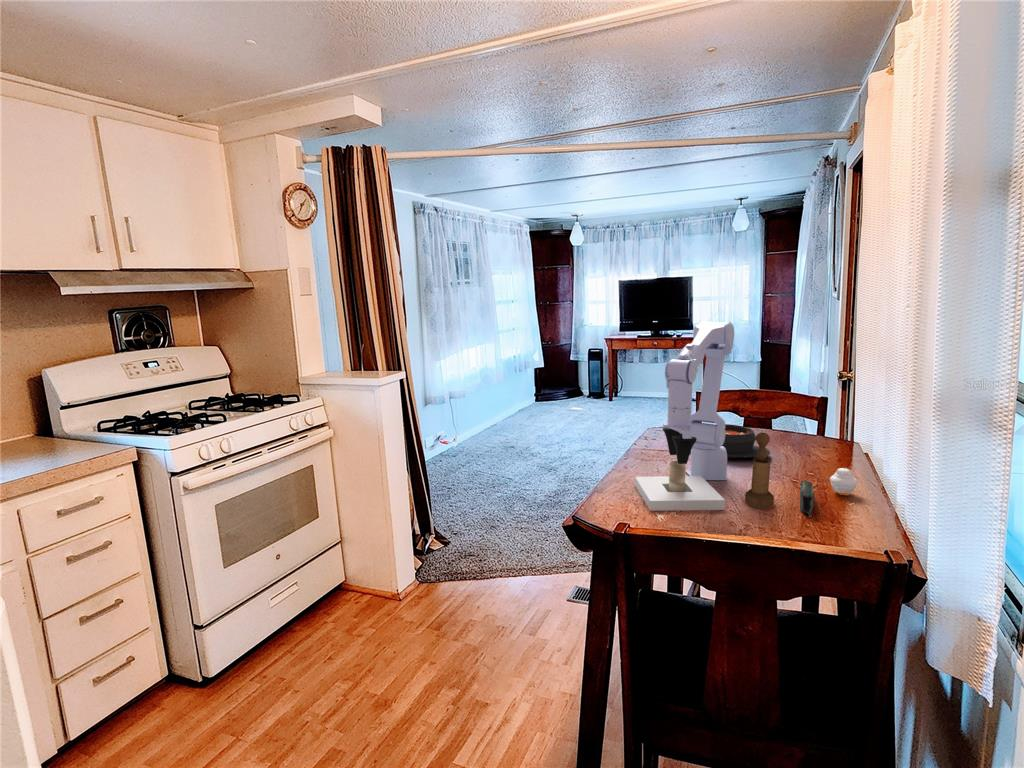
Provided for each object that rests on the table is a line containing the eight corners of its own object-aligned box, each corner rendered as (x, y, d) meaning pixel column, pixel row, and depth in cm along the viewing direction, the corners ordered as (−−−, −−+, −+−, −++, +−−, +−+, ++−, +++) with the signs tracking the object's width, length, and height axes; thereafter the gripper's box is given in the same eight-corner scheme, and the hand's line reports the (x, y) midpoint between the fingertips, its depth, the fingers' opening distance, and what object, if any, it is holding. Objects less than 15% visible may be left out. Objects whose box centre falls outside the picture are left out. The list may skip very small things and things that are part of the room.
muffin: (842, 499, 140) (844, 472, 139) (823, 491, 146) (825, 465, 145) (862, 496, 142) (864, 470, 141) (842, 488, 148) (844, 463, 147)
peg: (682, 494, 146) (683, 461, 144) (686, 499, 142) (687, 465, 140) (666, 494, 146) (667, 461, 144) (670, 499, 142) (671, 465, 140)
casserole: (772, 451, 183) (773, 426, 181) (767, 467, 167) (768, 440, 165) (693, 443, 195) (694, 419, 194) (682, 456, 179) (682, 431, 178)
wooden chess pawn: (771, 510, 134) (775, 437, 131) (742, 505, 137) (746, 434, 135) (775, 501, 140) (779, 431, 137) (747, 496, 143) (751, 428, 140)
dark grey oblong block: (799, 478, 143) (801, 496, 129) (812, 479, 142) (816, 497, 128) (798, 497, 144) (800, 516, 130) (811, 498, 142) (814, 518, 129)
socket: (700, 484, 152) (700, 475, 152) (724, 509, 135) (724, 500, 134) (634, 485, 153) (635, 476, 152) (649, 510, 135) (650, 500, 135)
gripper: (656, 401, 147) (655, 451, 149) (671, 413, 133) (669, 468, 135) (683, 401, 147) (681, 450, 149) (701, 412, 133) (699, 467, 135)
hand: (678, 459), depth 142 cm, fingers open, 7 cm apart
